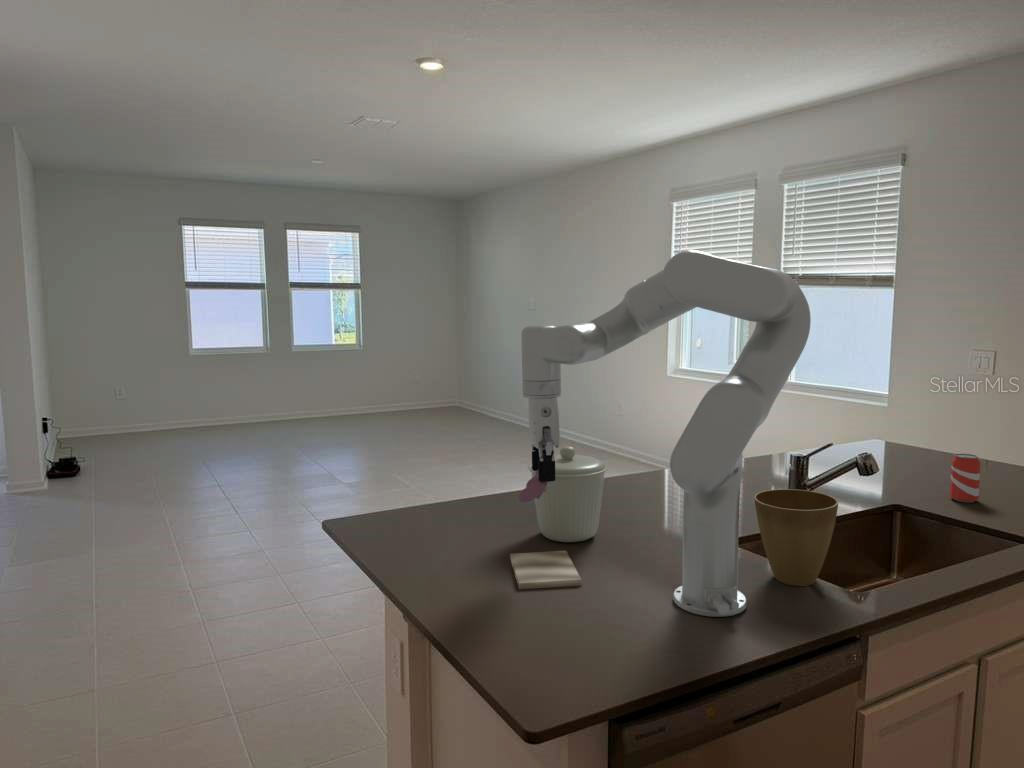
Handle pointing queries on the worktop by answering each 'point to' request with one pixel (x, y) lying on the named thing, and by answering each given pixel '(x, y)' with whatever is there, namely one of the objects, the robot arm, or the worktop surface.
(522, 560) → the birch board
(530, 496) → the video game controller
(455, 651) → the worktop surface
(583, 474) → the canister
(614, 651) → the worktop surface
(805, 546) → the plant pot
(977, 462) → the beverage can
